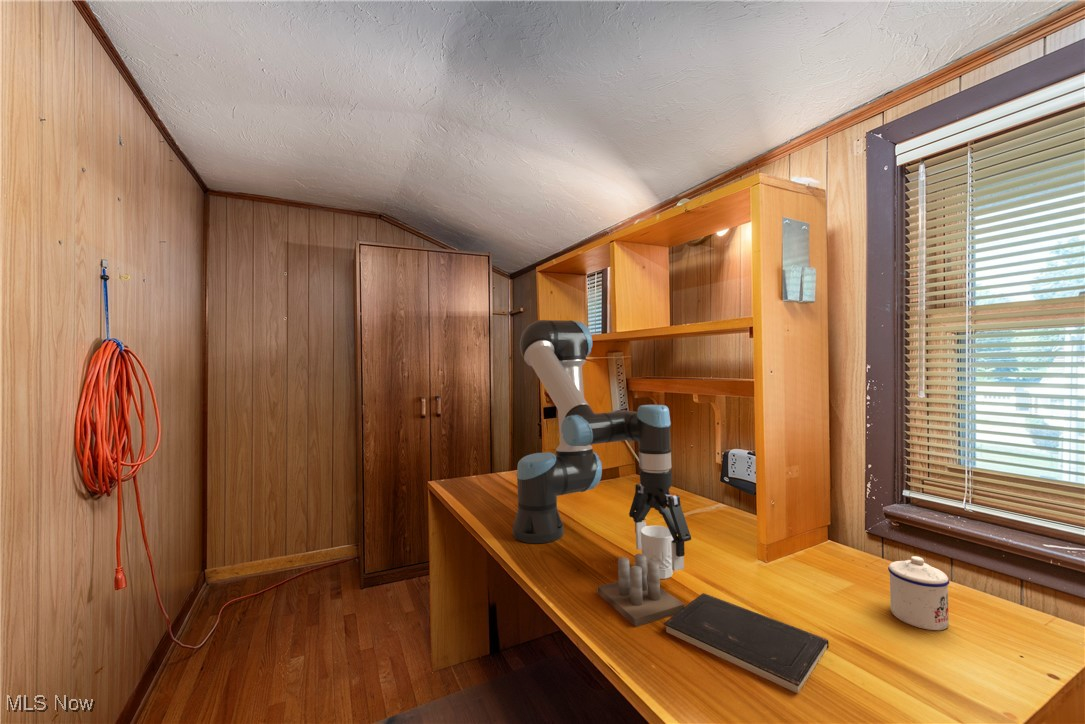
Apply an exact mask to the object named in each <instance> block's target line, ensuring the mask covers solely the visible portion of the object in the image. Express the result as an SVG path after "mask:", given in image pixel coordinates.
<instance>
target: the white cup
mask: <svg viewBox="0 0 1085 724" xmlns="http://www.w3.org/2000/svg"><path fill="white" fill-rule="evenodd" d="M640 532H641V546H642V549H641V554H644V555H646V565H647V563H648V562H657V563H659V575H660V580H667V579H669V578H671V577H672V576H673V575H674V574H673V572H674V571H673V570H672V550H671V541H673V540H674V539H673V537H672V535H671V533H670V531H669V529H668V527H667V526H663V525H646V527H643V528H642V529H641V530H640ZM647 577H648V566H647Z"/></svg>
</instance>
